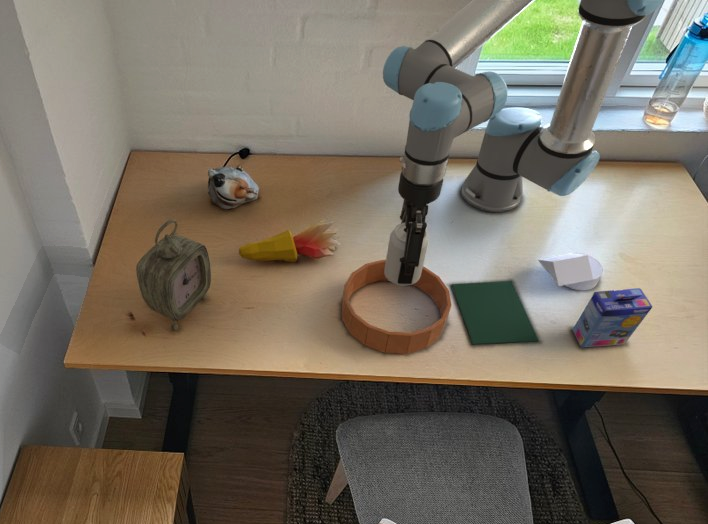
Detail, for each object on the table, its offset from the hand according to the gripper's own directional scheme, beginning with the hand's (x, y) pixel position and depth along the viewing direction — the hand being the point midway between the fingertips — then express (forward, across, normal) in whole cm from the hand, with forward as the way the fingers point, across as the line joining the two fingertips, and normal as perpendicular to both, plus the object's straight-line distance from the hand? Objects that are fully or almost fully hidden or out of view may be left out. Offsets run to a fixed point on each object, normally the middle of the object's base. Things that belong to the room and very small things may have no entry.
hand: (403, 268), depth 123 cm
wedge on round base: (+14, -14, +41) cm, 45 cm away
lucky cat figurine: (+14, -39, -40) cm, 58 cm away
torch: (+14, -18, -24) cm, 33 cm away
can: (+2, 0, 0) cm, 2 cm away
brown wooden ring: (+14, 0, 0) cm, 14 cm away
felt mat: (+14, -2, +22) cm, 26 cm away
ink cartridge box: (+14, +4, +43) cm, 45 cm away
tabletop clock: (+14, +2, -48) cm, 50 cm away
